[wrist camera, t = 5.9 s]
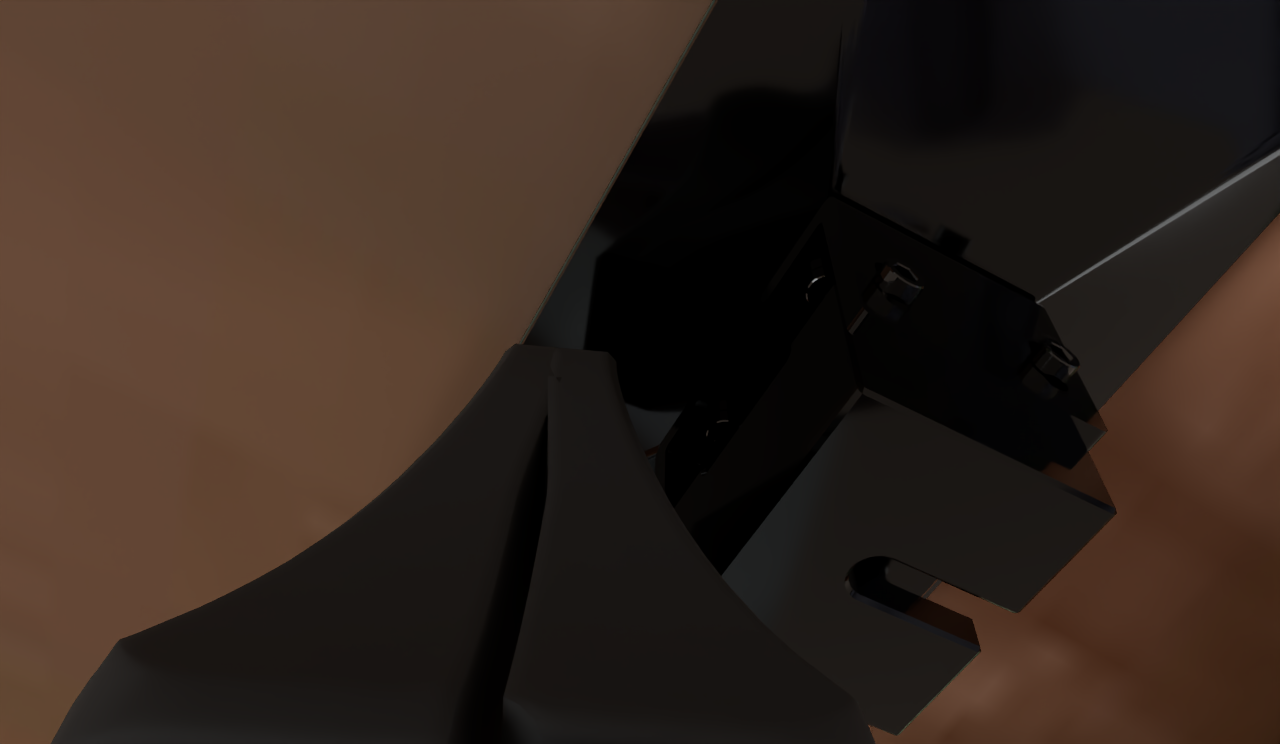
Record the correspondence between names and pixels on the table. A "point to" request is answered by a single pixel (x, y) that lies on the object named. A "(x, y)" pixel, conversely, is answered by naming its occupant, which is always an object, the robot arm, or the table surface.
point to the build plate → (913, 292)
